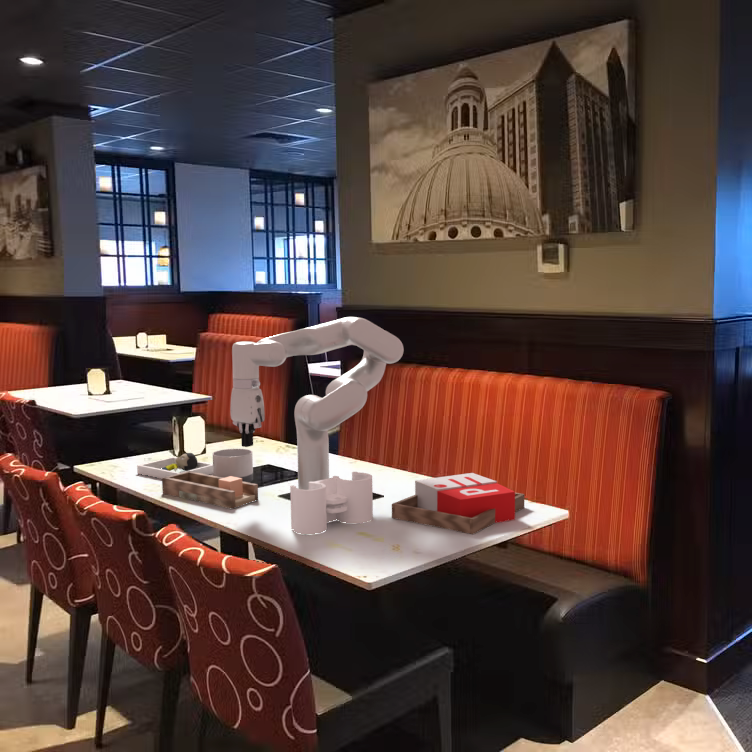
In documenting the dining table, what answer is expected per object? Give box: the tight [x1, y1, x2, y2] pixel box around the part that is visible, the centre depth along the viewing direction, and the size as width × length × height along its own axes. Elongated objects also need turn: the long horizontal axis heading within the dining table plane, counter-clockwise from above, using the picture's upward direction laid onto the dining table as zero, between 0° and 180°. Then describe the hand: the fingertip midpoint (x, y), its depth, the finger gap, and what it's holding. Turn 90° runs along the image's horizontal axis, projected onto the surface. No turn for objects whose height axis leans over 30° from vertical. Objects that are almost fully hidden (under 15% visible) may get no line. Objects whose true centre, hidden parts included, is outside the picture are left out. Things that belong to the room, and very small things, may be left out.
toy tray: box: [136, 456, 213, 480], centre depth 285 cm, size 22×16×3 cm
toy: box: [162, 452, 198, 472], centre depth 285 cm, size 9×6×15 cm
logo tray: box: [391, 492, 525, 535], centre depth 234 cm, size 26×30×4 cm
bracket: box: [289, 471, 374, 534], centre depth 225 cm, size 25×10×12 cm, turn 131°
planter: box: [212, 448, 254, 483], centre depth 270 cm, size 13×13×10 cm
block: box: [218, 476, 243, 497], centre depth 248 cm, size 5×5×5 cm
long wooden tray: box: [161, 471, 259, 510], centre depth 254 cm, size 31×11×5 cm, turn 54°
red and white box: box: [414, 472, 516, 524], centre depth 234 cm, size 24×8×20 cm
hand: (247, 445), depth 242 cm, fingers closed
